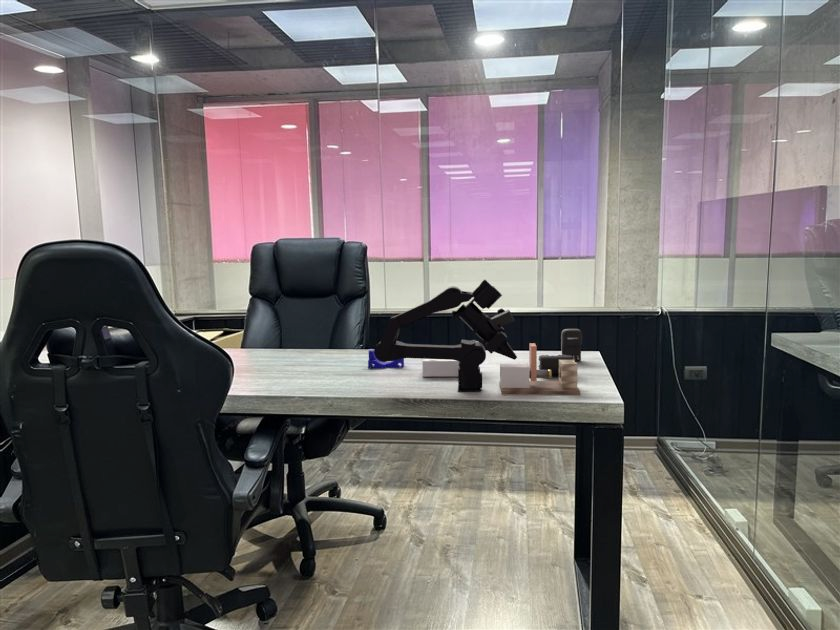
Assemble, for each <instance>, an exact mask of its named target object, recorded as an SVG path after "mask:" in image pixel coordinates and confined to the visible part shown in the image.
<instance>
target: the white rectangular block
mask: <svg viewBox="0 0 840 630" xmlns="http://www.w3.org/2000/svg"><path fill="white" fill-rule="evenodd" d="M529 381H530V378H529V363H499V387H500V386H501V388H529Z"/></svg>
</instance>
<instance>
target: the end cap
mask: <svg viewBox="0 0 840 630" xmlns="http://www.w3.org/2000/svg"><path fill="white" fill-rule="evenodd" d="M537 360H538V362H539V364H538V365H537V367H538V370H551V371H552V377H559V360H573V357H572V356H571V355H562V354H558V355H549V354H540V355H539V357H538V359H537Z"/></svg>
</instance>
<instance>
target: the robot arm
mask: <svg viewBox="0 0 840 630" xmlns="http://www.w3.org/2000/svg"><path fill="white" fill-rule="evenodd" d="M502 296H503V294H502V293H501V292H500V291H499V290H498V289H497V288H496V287H495V286H493V285H492V284H491V283H489V282H488V281H487V280H486V279H483V280H482V281H481V282H480V284H479V285H478V286H477V287H476V288H475V289H474V290H473V291H465V290H462V289H460V288H459V287H457V286H448V287H447V288H446V289H444V290H443V291H442V292H440V293H439V294H438V295H436V296H434V297H433V298H432V299H429V300H428V301H425V302H424V303H421V304H419V305H417V306H415V307H412V308H411V309H408V310H406V311H403V312H402V313H400V314H397V315H393V316H391V317H390V318H389V319H388V320H387V325H386V327H385V330H384V332H383V335H382V337H381V340H380V341H379V342H378V344H376V345H375V348H374V349H373V350H374V355H375V357H376V358H377V359H378V360H379V361H381V362H391V361H395V360H400V359H404V360H405V359H423V360H424V359H446V360H456V361H459V367H458V376H457V378H458V379H457V381H458V386H457V391H458V392H481V389H483V372H482V371H481V367H480V365H482V364H483V363H484V362H485V361H486V359H487V353H486V350H487V352H489V354H491V355H492V353H497V354H499V355H501V356H504V357H507V358H509V359H512V360H516V359H517V358H518V356H517V354H516V353H515V352H514V350H513V348H512V347H511V346H510V344H509V343H508V336H507V333H506V332H503V331H504V330H505V329H504V327H503V326H505V325H507V324H511V323H514V322H515V319H514V316H513V314H512V313H511V311H510V309H506V310H505V309H504V308H499V309H498V310H497V311H496V313H497V314H495V315H494V316H492V317H491V316H490V315H487V314H486V313H485V312H483V311H482V310H484V309H487V310H490V308H491V307H492V306H493V305H494V304H496V302H497V301H498V300H499V299H500V298H501V297H502ZM466 302H468V303H467V304H466V305H465V304H464V303H466ZM474 302H475V303H474ZM462 303H463V304H462ZM476 304H477V305H476ZM478 306H479V307H480V308H481V309H482V310H481V309H480V308H479V307H478ZM455 308H457V309H456V310H452V311H451V314H452V321H453V322H454V321H455V322H456V320H457V319H461V320H462V322H464V323H465V324H466V325H467V326H468V327H469V328H470V329H471V330H472V332H473V333H474V334H476V335H477V336H478V337H479V338H480V339H481V340H482V341H483V343H484V344H485V346H484V344H483V343H481V342H479V341H478V342H475V341H476V339H473V340H472V339H471V340H467V339H461V341H460V344H455V345H450V344H448V345H446V344H440V345H439V344H417V343H416V344H414V343H405V342H402V341H399V340H397V339H398V336H399V334H400V330H401V328H404V327H406V326H408V325H410V324H414V323H415V322H417V321H420V320H421V319H423V318H426V317H428V316H430V315H432V314H435V313H439V312H443V311H448V310H451V309H455Z"/></svg>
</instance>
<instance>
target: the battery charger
mask: <svg viewBox="0 0 840 630" xmlns="http://www.w3.org/2000/svg"><path fill="white" fill-rule="evenodd" d="M560 339H561V342H560V344H561V345H560V346H561V347H560V348H561V355H571V356H572V357H573V360H574V361H576V362H581V360H582V344H583V334H582V331H581V330H580V329H579V328H565V329H563V330H562V331H561V335H560Z"/></svg>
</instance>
